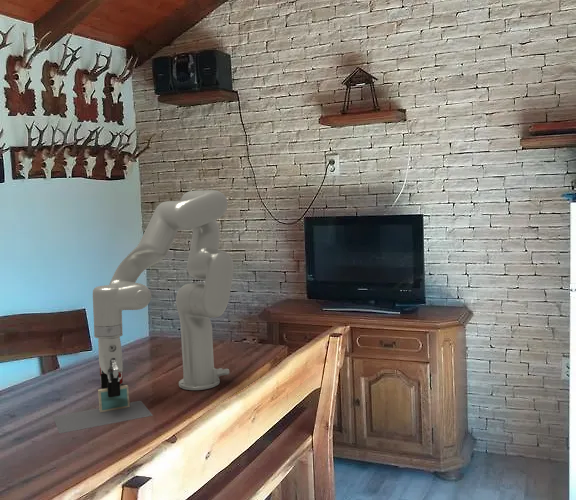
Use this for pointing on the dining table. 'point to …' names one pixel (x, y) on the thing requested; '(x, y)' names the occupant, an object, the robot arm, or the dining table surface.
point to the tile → (113, 399)
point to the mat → (99, 417)
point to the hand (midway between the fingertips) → (110, 391)
